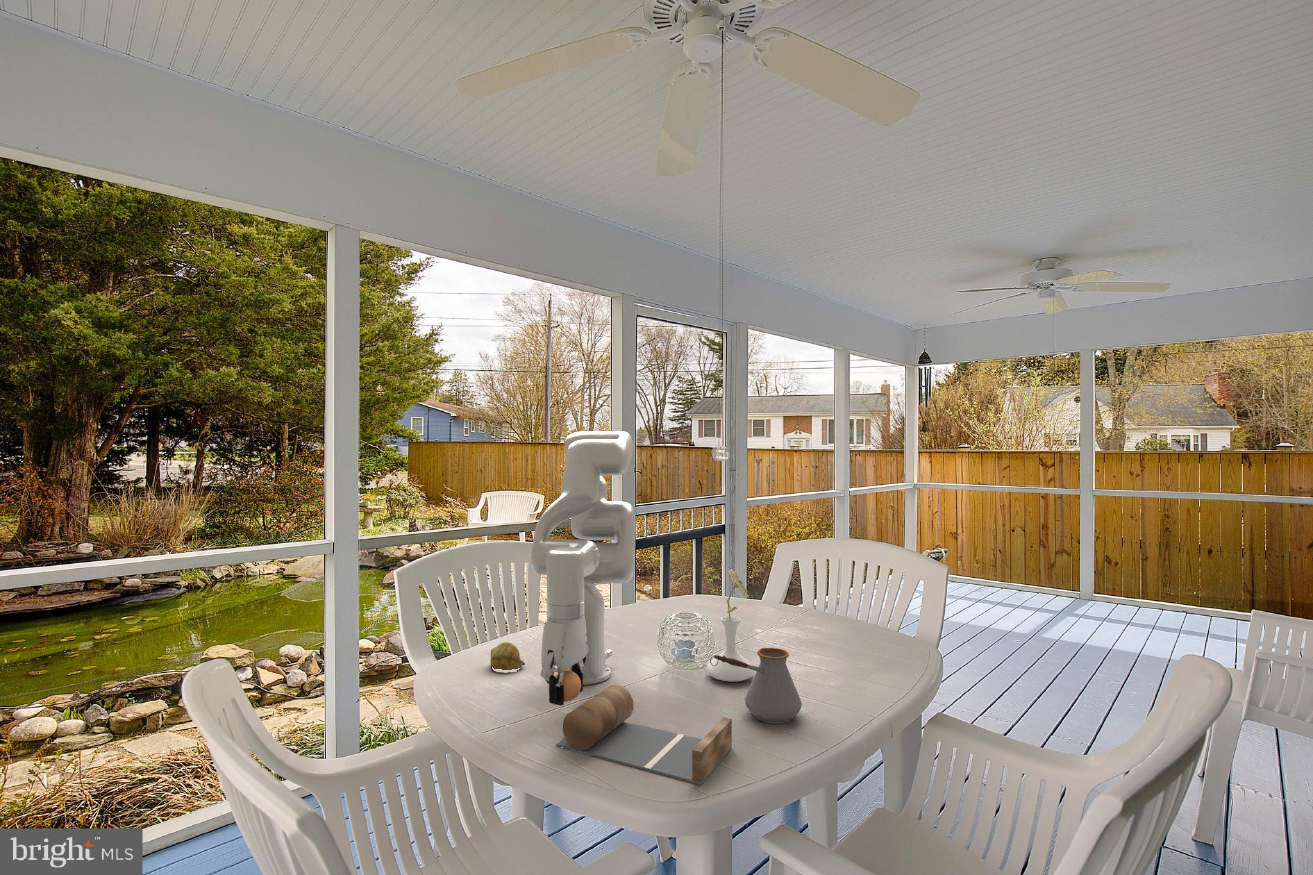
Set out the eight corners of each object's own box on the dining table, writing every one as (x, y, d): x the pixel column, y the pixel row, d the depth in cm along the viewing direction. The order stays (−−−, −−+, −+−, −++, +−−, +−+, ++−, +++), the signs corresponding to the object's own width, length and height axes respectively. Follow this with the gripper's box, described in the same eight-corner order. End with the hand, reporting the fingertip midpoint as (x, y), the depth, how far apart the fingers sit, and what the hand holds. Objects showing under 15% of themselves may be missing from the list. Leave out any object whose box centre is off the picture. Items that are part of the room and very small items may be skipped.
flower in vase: (753, 688, 147) (753, 577, 147) (703, 684, 149) (703, 575, 149) (756, 668, 160) (756, 566, 160) (710, 664, 162) (710, 564, 162)
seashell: (520, 685, 159) (533, 654, 164) (514, 675, 154) (527, 643, 159) (485, 674, 161) (498, 644, 166) (477, 664, 156) (491, 633, 161)
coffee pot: (774, 699, 140) (774, 630, 140) (813, 719, 131) (814, 644, 131) (694, 723, 129) (694, 647, 129) (731, 746, 119) (731, 664, 119)
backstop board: (723, 744, 119) (723, 717, 119) (731, 746, 118) (731, 718, 118) (692, 780, 107) (692, 749, 107) (701, 782, 106) (701, 751, 106)
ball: (562, 691, 136) (562, 663, 135) (586, 697, 133) (586, 668, 133) (545, 703, 130) (545, 673, 130) (570, 709, 128) (569, 679, 127)
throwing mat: (596, 717, 132) (596, 714, 132) (731, 748, 118) (731, 745, 118) (555, 746, 119) (555, 743, 119) (701, 785, 106) (701, 781, 106)
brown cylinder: (603, 716, 131) (603, 681, 131) (633, 723, 128) (633, 687, 128) (562, 745, 118) (562, 707, 118) (594, 754, 115) (595, 714, 115)
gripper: (574, 595, 140) (575, 677, 141) (523, 619, 125) (524, 711, 126) (604, 600, 137) (604, 684, 137) (555, 625, 121) (556, 719, 122)
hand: (566, 696), depth 132 cm, fingers closed on ball, 5 cm apart
